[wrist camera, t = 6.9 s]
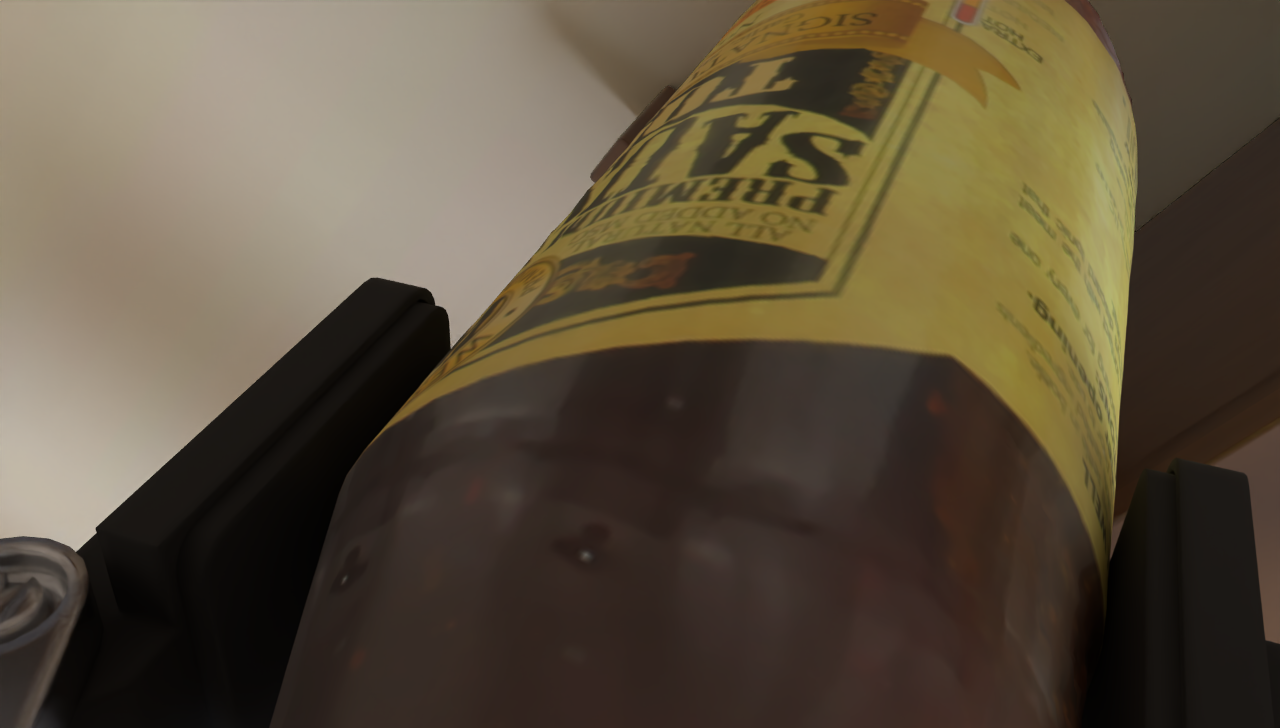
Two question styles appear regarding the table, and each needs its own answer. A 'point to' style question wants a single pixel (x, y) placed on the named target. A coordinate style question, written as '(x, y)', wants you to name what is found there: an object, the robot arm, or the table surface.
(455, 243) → the table surface
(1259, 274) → the step rack
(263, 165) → the table surface
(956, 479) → the sauce bottle
